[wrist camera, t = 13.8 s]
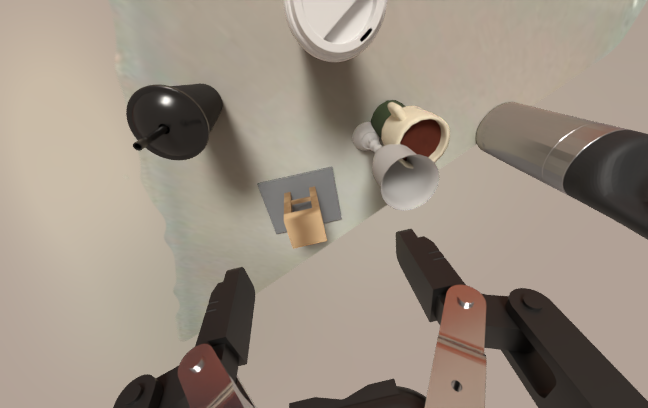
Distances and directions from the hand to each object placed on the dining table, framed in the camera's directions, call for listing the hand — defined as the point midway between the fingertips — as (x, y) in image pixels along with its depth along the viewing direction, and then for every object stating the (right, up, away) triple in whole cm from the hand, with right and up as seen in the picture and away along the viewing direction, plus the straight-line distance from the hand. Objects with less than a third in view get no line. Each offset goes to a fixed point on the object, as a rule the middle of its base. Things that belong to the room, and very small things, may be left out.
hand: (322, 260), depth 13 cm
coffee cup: (-1, +28, +21) cm, 35 cm away
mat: (-4, +3, +36) cm, 36 cm away
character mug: (+11, +18, +29) cm, 36 cm away
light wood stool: (-4, +3, +35) cm, 36 cm away
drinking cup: (-18, +18, +24) cm, 35 cm away
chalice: (+8, +15, +30) cm, 35 cm away
